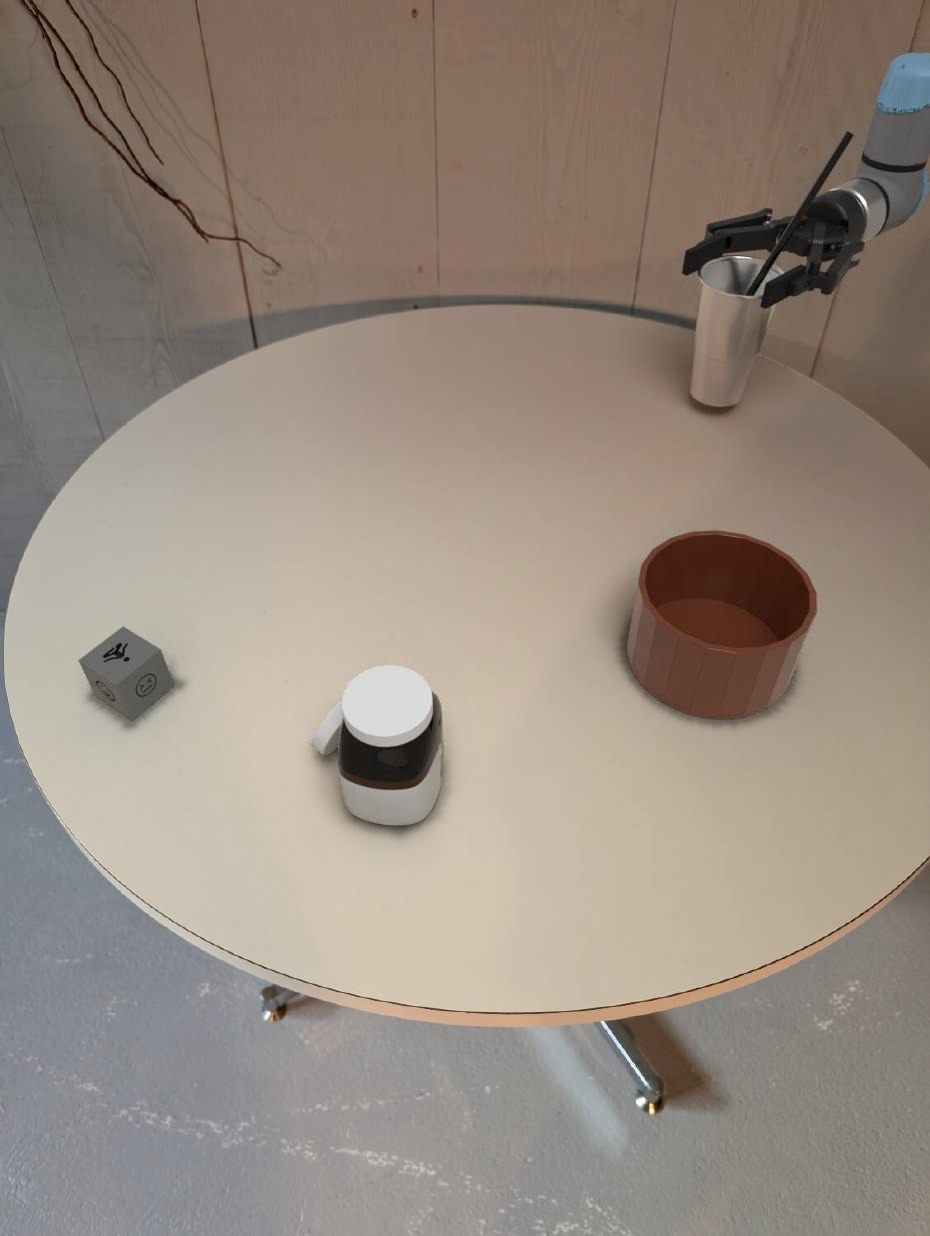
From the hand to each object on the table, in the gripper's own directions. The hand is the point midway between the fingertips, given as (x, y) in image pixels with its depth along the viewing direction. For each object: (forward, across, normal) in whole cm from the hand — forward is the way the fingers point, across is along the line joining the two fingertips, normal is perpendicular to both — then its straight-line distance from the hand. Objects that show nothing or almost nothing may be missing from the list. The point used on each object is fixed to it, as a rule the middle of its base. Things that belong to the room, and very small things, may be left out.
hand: (724, 279), depth 100 cm
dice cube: (+73, +7, -18) cm, 76 cm away
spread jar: (+62, -15, -18) cm, 66 cm away
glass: (-4, 0, -16) cm, 17 cm away
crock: (+31, -26, -18) cm, 44 cm away
